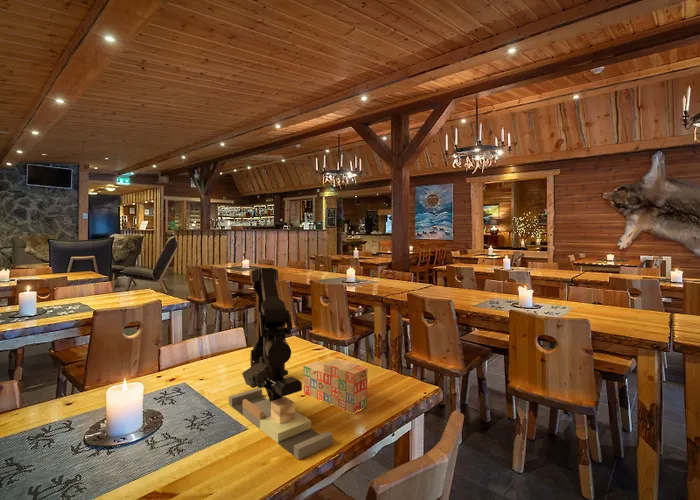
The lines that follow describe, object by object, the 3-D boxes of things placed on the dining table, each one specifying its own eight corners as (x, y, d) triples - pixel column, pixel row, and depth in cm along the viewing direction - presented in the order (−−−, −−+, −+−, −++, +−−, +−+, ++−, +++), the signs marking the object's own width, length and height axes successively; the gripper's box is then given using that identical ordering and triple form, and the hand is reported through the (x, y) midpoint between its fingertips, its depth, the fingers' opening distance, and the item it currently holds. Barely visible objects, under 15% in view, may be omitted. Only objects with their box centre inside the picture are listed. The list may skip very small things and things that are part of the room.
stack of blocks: (303, 394, 127) (303, 356, 126) (317, 388, 132) (317, 351, 131) (353, 415, 113) (354, 373, 112) (367, 407, 117) (368, 367, 117)
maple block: (285, 412, 109) (285, 396, 108) (294, 418, 105) (294, 402, 105) (270, 417, 106) (270, 401, 105) (279, 424, 102) (279, 407, 102)
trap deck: (259, 395, 125) (258, 381, 125) (332, 444, 98) (332, 426, 97) (228, 404, 119) (228, 389, 119) (298, 459, 91) (298, 440, 91)
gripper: (231, 350, 109) (231, 405, 110) (264, 368, 95) (264, 432, 96) (267, 342, 116) (267, 394, 117) (303, 359, 102) (303, 417, 103)
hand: (274, 408), depth 108 cm, fingers closed
